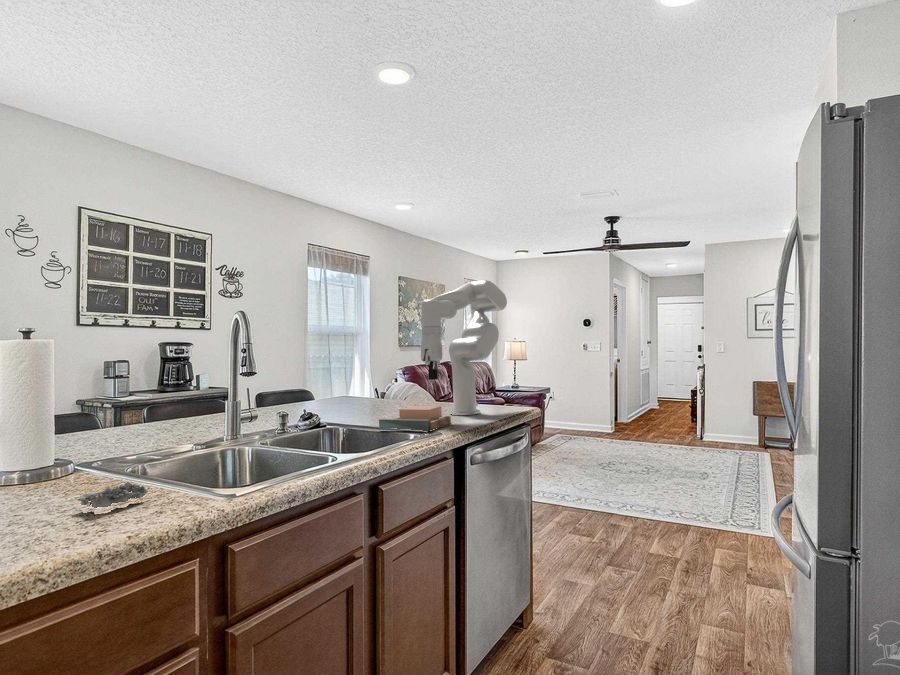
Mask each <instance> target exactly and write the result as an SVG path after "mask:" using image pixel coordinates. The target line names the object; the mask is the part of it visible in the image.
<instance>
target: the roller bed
mask: <svg viewBox="0 0 900 675" xmlns="http://www.w3.org/2000/svg"><path fill="white" fill-rule="evenodd" d="M451 419H452V418H451V415H449V416H447V415H446V416H442V417H441V418H438V419H434V420H431V421H430V420H415V419H400V416H399V417H395V418H380V419H378V425H379V427H380V428H397V429H411V430H423V431H430V430H433V429H436V428H440V427H442V428H444V427H443V426H445V427H447V426H446V425H448V426H450V425H449V424H451V425H452V421H451ZM440 429H441V428H440Z"/></svg>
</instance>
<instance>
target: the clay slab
mask: <svg viewBox="0 0 900 675" xmlns="http://www.w3.org/2000/svg"><path fill="white" fill-rule="evenodd" d="M398 410H399V417H400V419H415V420H430V421H431V420H434V419H438V418H443V416H442V406H441V405H439V406H438V405H430V406H429V405H428V406H427V405H426V406H425V405H423V406H422V405H421V406H420V405H410V406H408V407H403V408H400V409H398Z"/></svg>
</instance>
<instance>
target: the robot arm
mask: <svg viewBox="0 0 900 675" xmlns="http://www.w3.org/2000/svg"><path fill="white" fill-rule="evenodd" d="M420 304H421V305H420V311H421V313H420V314H421V341H420V342H421V344H420V360H421V361H422V362H424V364H425V365H426V366H427V371H428V373H427V374H428V380H430V381H432V380H435V381H436V380H438V378H439V377H438V376H439V374H438V372H439V370H438V369H439V365H440V364H441V361H442V360H443V344H442V337H441V336H442V335H443V334H442V320H450V319H453V318H455V316H456V315H457V313H458V311H459V310H462V309H465V308H466V307H468V306H469V305H470V312H471V319H470V321H469V322H468V324H467V325H466V326H465V327H464V329H463V331H462V334H461V338H460V337H459V338H456V339H453V340H452V341H450V343H449V345H448V353H449V357H450V363H451V373H452V374H451V375H452V395H453V396H452V397H453V399H452V400H453V401H452V402H453V410H450V411H449V412H450V415H451V414H452V415H453V416H472V415H473V416H474V415H479V414H480V413H481V409H477V407H478V406H479V403H478V402H477V393H476V392H477V389H476V371H475V370H476V369H475V368H474V366H473V364H472V363H471V362H474V361H475V362H477V361H484V360H486V359H488V357H489V356H490V354H491V353H492V351H493V349H494V348H495V346H496V345H497V343H498V340H499V334H500V332H499V328H498V327H497V325H496V324H495V323H492V322H490V320H489V318H488V316H487V314H486V313H487V312H488V313H489V312H500V311H503V310H505V309H506V307H507V304H508V300H507V296H506V294H505V293H504V292H503V290H501V289H500V288H499V287H498V286H497V285H496V284H495V283H494V282H492V281H490V280H488V279H484V280H483V279H482V280H475V281H469V282H466V283H464V284H462V285H460V286H459V287H458V288H456V289H454V290H452V291H451V290H450V291H448V292H446V293H443V294H440V295H437V296H434V297H432V298H430V299H425V300H424V299H423V300H422V301H421V303H420Z"/></svg>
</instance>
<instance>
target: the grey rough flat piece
mask: <svg viewBox="0 0 900 675" xmlns="http://www.w3.org/2000/svg"><path fill="white" fill-rule="evenodd" d="M148 490H150V487H148V488H145V486H143V485H142V486H140V485H139V484H138V485H137V484H136V483H135V484H133V483H131V482H129V481H127V482H125V483H124V484H122V485H120V486H116V487H113V488H111V487H108V488H106V489H104V490H101V491H98V492H96V493H95V492H94V493H85V494H82V495H81V496H80V497H79V498H78V499H77V502H81V503H80V504H81V505H87V506H90V505H91V504H92V507H94V508H97V507H108V506H111V504H112V503H118V502H126V501H128V499H130V498H135V497H136V498H140V497H143V496H144V495H145V494H147V491H148ZM131 491H132V493H129V492H131ZM88 501H91V502H88Z"/></svg>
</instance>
